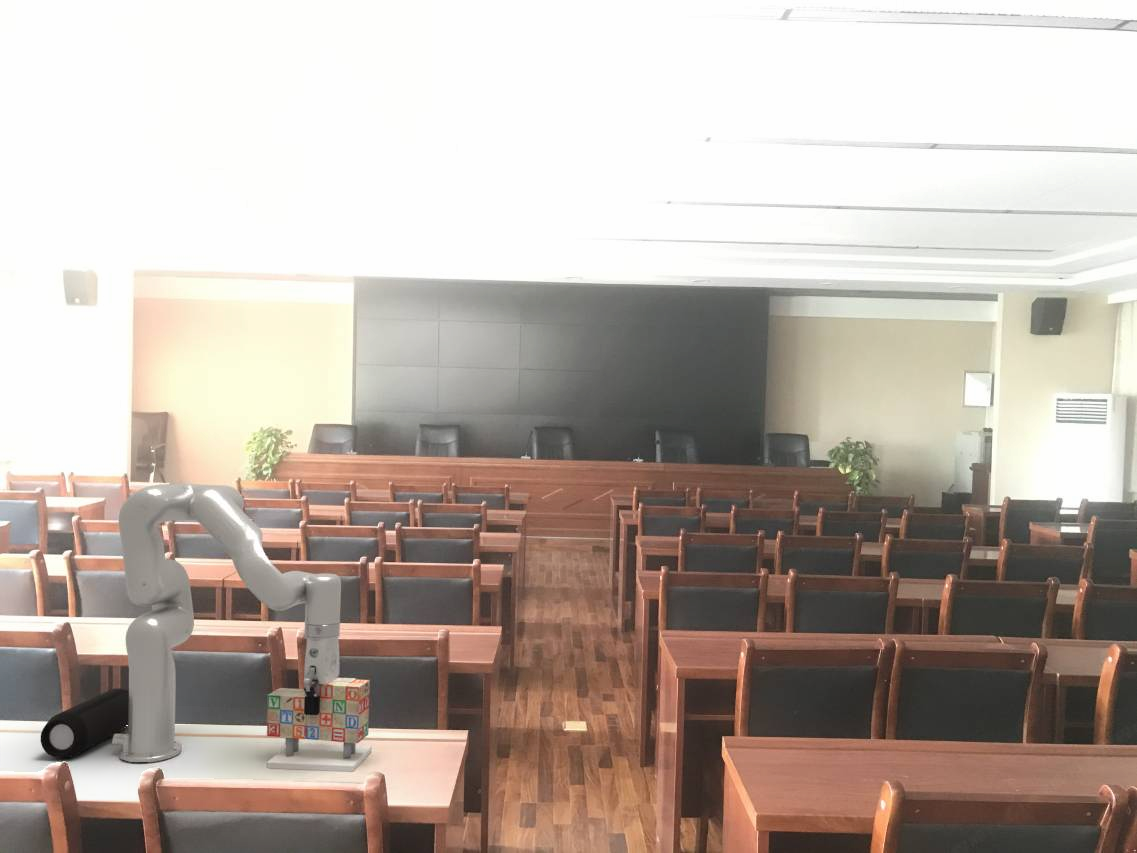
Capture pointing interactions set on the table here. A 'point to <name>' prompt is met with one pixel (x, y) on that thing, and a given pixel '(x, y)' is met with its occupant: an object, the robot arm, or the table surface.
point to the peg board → (319, 756)
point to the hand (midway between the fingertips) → (319, 708)
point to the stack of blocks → (321, 712)
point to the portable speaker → (86, 724)
